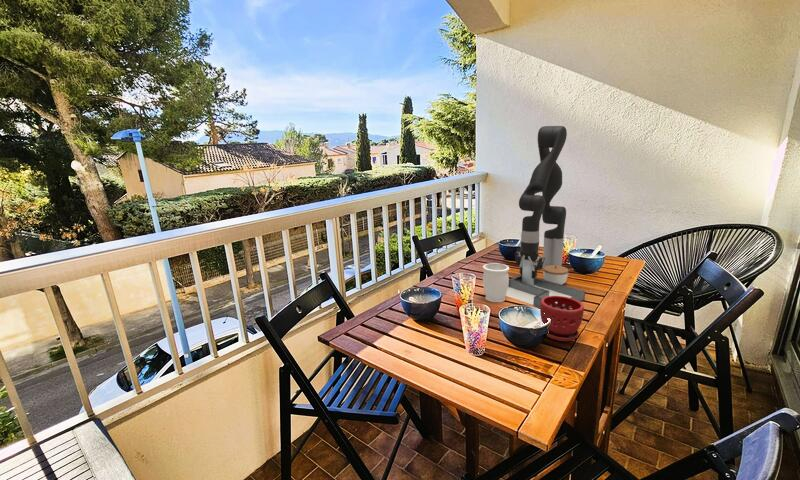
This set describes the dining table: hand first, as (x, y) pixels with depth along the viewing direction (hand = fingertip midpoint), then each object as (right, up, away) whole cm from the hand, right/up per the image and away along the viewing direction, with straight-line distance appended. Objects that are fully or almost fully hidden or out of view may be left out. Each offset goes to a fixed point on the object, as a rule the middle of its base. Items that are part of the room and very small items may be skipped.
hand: (528, 276), depth 154 cm
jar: (-17, -9, -8) cm, 21 cm away
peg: (0, -4, +1) cm, 4 cm away
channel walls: (+2, -7, -8) cm, 11 cm away
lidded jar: (+15, -5, +6) cm, 16 cm away
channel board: (+2, -8, -8) cm, 11 cm away
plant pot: (-3, -16, -37) cm, 40 cm away
